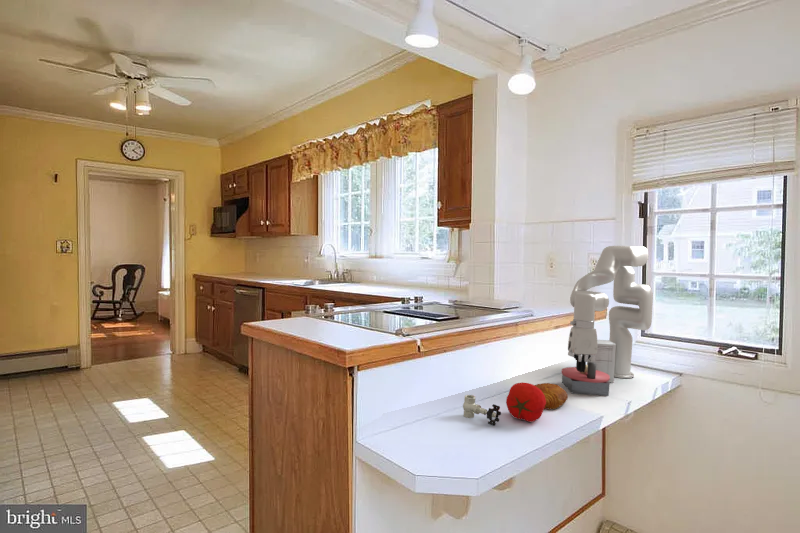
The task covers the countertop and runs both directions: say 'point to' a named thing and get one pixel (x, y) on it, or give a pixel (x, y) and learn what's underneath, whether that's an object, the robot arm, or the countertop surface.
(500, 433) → the countertop surface
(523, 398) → the tomato
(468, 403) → the valve
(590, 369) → the handwheel
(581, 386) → the housing
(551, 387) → the croissant
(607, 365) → the supplement box
